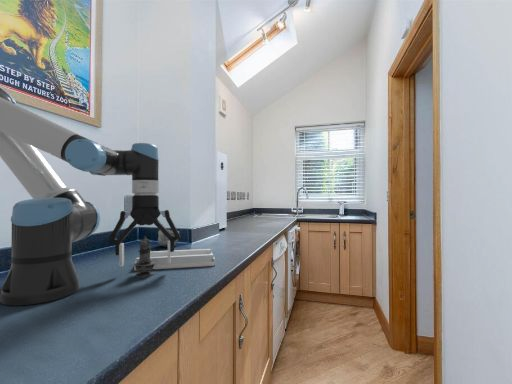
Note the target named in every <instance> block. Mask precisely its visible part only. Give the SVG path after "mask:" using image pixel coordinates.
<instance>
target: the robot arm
mask: <svg viewBox="0 0 512 384" xmlns="http://www.w3.org/2000/svg"><path fill="white" fill-rule="evenodd" d="M41 151H42V152H45V153H46V154H49V155H51V156H53V157H56V158H58V159H59V160H62V161H64V162H66V163H68V164H69V165H70V166H71V167H73V168H75V169H76V170H78V171H81V172H87V173H89V174H91V175H93V176H102V177H103V176H131V193H132V194H133V195H132V197H131V204H132V205H131V211H128V210H127V211H126V210H122V211H120V214H119V219H118V221H117V223H116V225H115V227H114V229H113V231H112V232H111V235H110V236H109V238H108V240H107V241H108V243H111V244H114V246H115V255H116V256H118V258H119V259H118V266H119V268H122V267H124V265H125V244H124V242H122V241H124V239H125V238H126V237H128V235H129V234H130V232H131V231H132V230H133V229H134V228H135V227H136V226H137V225H138V226H145V225H146V226H152V225H155V226H156V228H158V230H161V232H162V233H163V234H164V235H165V236H166V237H167V238H168V239H169V240H170V241H168V247H167V251H168V264H169V263H170V262H171V252H174V250H175V245H174V241H175V240H178V241H179V239H180V238H181V234H180V232H179V233H178V229H177V227H176V225H175V223H174V221H173V220H172V217H171V214H170V210H169V209H164V210H160V208H159V207H160V205H159V203H160V202H159V201H160V200H159V199H160V198H159V195H158V194H159V192H160V191H159V190H160V189H159V184H160V183H159V161H160V159H159V150H158V147H157V146H156V145H155V144H153V143H147V142H136V143H133V144H132V145H131V149H129V150H121V149H120V150H117V149H116V150H114V149H111V148H108V147H106V146H105V145H102V144H100V143H99V142H95V141H93V140H91V139H89V138H87V137H84V136H82V135H80V134H78V133H76V132H74V131H72V130H70V129H68V128H66V127H63V126H61V125H59V124H57V123H56V122H54V121H51V120H49V119H47V118H45V117H44V116H40V115H38V114H37V113H34V112H33V111H30V110H28V109H27V108H24V107H23V106H19V105H18V104H17V101H16V100H15V98H14V97H13V96H12V95H11V94H10V93H9V92H7V91H6V90H4V89H2V87H0V158H1V160H2V161H3V162H4V164H6V166H7V168H9V170H10V172H11V173H12V174H13V175H14V176H15V177H16V179H17V180H18V181H19V183H20V184H21V185H22V186H23V188H24V189H25V190H26V192H27V193H28V194H29V196H30V197H31V198H32V199H24V200H20V201H17V202H16V203H14V205H13V207H12V214H11V216H10V223H11V251H10V252H11V255H10V256H11V260H10V261H11V263H10V264H11V265H10V268H9V270H8V273H7V276H6V278H5V279H4V282H3V283H4V284H3V285H2V287H1V290H0V303H1V304H2V305H7V306H29V305H37V304H42V303H47V302H52V301H56V300H60V299H63V298H65V297H67V296H71V295H72V294H74V293H77V291H79V289H80V278H79V276H78V273H77V271H76V268H75V265H74V263H73V259H72V250H73V249H72V246H73V245H72V244H73V243H75V242H78V241H81V240H86V238H88V237H90V236H92V234H94V233H95V232H96V231H97V229H98V228H99V226H100V222H101V215H100V211H99V209H98V208H97V206H95V204H93V203H91V202H89V201H85V200H84V198H83V197H82V195H81V194H80V193H79V191H78V190H77V189H75V188H69V187H67V185H66V184H65V183H64V181H63V180H62V179H61V177H60V176H59V175H58V173H57V172H56V171H55V169H53V167H52V166H51V164H50V163H49V162H48V160H47V158H45V156H44V154H42V153H41ZM129 216H130V217H131V218H132V219H133V221H132V222H131V223H130V224H129V225H128V226H127V228H125V230H124V231H123V232H122V233H121V234H120V235H119V237H118V234H119V232H120V230H122V227H123V225H124V224H125V221H126V219H128V218H129ZM160 216H162V217H163V218H165V220H166V222H167V224H168V225H169V227H170V230H172V231H173V233H174V235H175V236H172V235H171V234H170V233H169V232H168V230H169V229H168V230H167V229H166V228H165V227H166V226H165V227H164V225H163V224H162V222H160V220H159V219H158V218H159V217H160Z"/></svg>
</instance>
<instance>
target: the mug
mask: <svg viewBox="0 0 512 384" xmlns="http://www.w3.org/2000/svg"><path fill="white" fill-rule="evenodd" d="M163 226H164V225H163ZM164 227H165V228H166V229H167V230H168V232H169V233H170V234H171V235H172V236H175V235H174V233H173V231H172V230H171V229H169V228H168V227H167V226H164ZM177 231H178V230H177ZM178 233H179V234H180V231H178ZM157 234H158V238H157V242H158V244H159V245H160V246H162V247H166V248H168V241H170V240H169V239H168V238H167V237H166V236H165V235H164V234H163V233H162V232H161V230H160V229H158V231H157ZM178 242H179V239H178V240H175V241H174V246H176V245H177V243H178Z"/></svg>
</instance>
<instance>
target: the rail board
mask: <svg viewBox="0 0 512 384" xmlns="http://www.w3.org/2000/svg"><path fill="white" fill-rule="evenodd" d="M139 258H140V255H139V256H138V257H136V258H135V262H134V264H135V263H137V262H138V261H139ZM150 259H151V261H154V262H155V264H154V267H153V269H152V270H163V269H166V270H167V269H179V268H181V269H182V268H194V267H195V268H197V267H210V266H211V267H214V265H215V266H216V258H215V256H214V254H213V252H212V249H211V248H198V249H196V248H195V249H179V250H177V249H176V250H175V249H174V252H171V262H170V263H169V264H168V250H159V251H158V250H157V251H156V250H153V251H152V250H151V251H150ZM134 264H133V265H134ZM133 271H137V270H136V268H135V265H134V266H133Z"/></svg>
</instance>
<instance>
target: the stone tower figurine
mask: <svg viewBox="0 0 512 384" xmlns="http://www.w3.org/2000/svg"><path fill="white" fill-rule="evenodd" d="M150 251H152V249H151V240H150V239H148V238H147V236H146V235H144V236H143V238H141V240H140V241H139V250H138V252H139V256H140V258H139V257H138V258H139V261H138V262H137V263H135V262H134V263H135V264H133V265H135V268H136V270H135V271H137V272H138V273H136V274H135V277H136V278H150V277H152V276H154V275H155V273H154V272H153V271H152V270H154V269H153V267H154V264H155V262H154V261H151V259H150Z"/></svg>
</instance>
